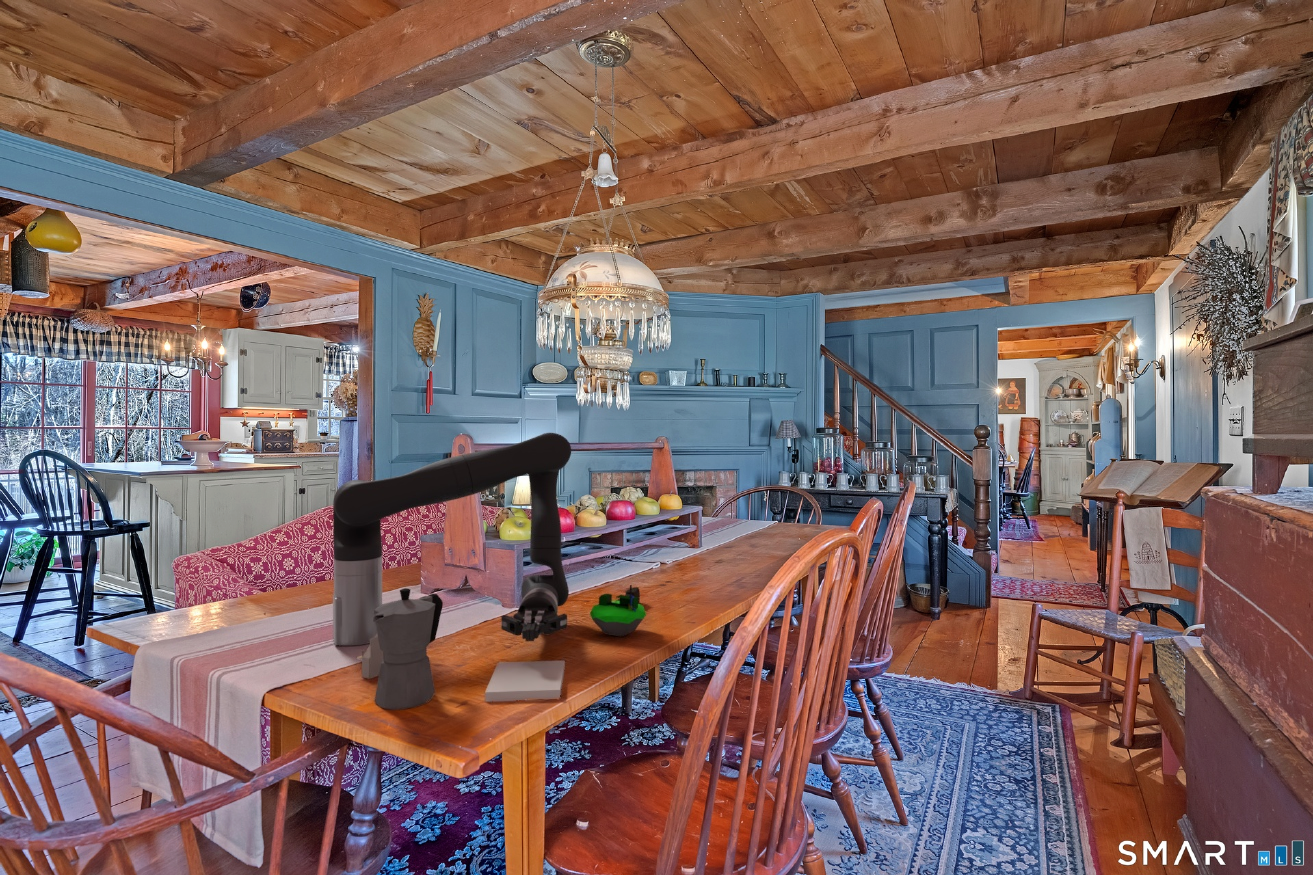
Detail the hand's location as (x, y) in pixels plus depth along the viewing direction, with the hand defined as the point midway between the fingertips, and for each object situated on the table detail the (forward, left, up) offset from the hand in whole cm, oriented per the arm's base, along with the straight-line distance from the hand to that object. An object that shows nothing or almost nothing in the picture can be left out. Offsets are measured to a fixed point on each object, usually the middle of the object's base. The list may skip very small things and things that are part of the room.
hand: (529, 635), depth 119 cm
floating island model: (+25, +16, -8) cm, 31 cm away
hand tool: (+34, +32, -8) cm, 47 cm away
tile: (+2, +4, -7) cm, 8 cm away
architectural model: (-23, +16, -8) cm, 29 cm away
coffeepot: (-20, +2, -8) cm, 21 cm away
